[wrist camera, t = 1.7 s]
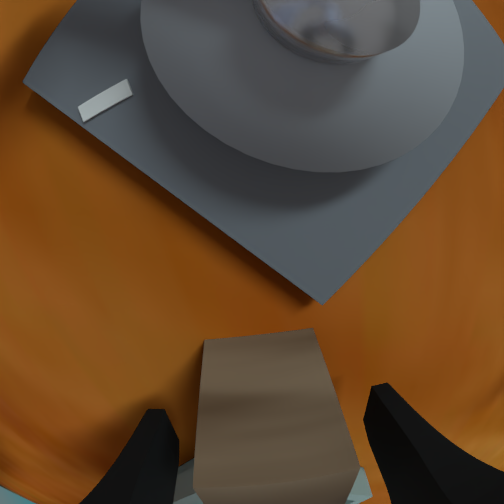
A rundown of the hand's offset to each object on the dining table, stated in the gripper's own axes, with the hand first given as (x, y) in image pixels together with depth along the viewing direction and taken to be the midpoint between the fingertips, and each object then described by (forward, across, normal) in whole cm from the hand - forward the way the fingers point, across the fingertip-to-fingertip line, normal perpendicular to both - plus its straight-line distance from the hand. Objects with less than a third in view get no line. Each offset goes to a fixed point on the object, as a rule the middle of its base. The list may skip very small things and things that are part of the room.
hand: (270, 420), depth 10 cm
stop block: (+2, 0, 0) cm, 3 cm away
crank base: (+2, -2, -12) cm, 12 cm away
